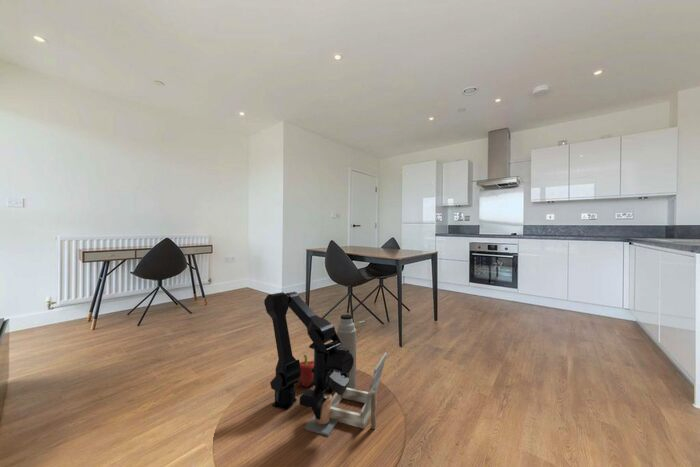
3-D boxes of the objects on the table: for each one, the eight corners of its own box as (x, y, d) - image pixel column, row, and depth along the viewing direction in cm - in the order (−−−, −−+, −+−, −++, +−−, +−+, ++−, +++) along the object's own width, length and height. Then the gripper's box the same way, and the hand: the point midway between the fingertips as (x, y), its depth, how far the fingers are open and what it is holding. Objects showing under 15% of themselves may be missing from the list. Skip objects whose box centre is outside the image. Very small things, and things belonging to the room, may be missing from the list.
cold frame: (324, 417, 87) (324, 360, 88) (340, 395, 100) (341, 345, 101) (376, 432, 81) (376, 369, 82) (387, 406, 94) (387, 352, 95)
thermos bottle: (356, 380, 112) (356, 313, 113) (356, 390, 104) (356, 318, 105) (337, 379, 112) (337, 313, 114) (336, 390, 104) (336, 318, 106)
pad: (305, 429, 82) (305, 427, 82) (317, 414, 89) (317, 412, 89) (328, 436, 79) (328, 434, 79) (339, 419, 86) (339, 417, 86)
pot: (310, 422, 83) (310, 399, 83) (319, 411, 88) (319, 389, 88) (326, 427, 81) (326, 403, 81) (334, 415, 86) (334, 393, 86)
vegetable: (292, 378, 113) (292, 355, 114) (316, 375, 116) (316, 352, 117) (294, 392, 103) (294, 366, 103) (321, 388, 106) (321, 362, 106)
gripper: (333, 382, 73) (332, 441, 73) (356, 356, 91) (356, 403, 90) (298, 375, 78) (298, 430, 77) (327, 351, 95) (326, 396, 94)
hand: (322, 414), depth 84 cm, fingers closed on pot, 5 cm apart
